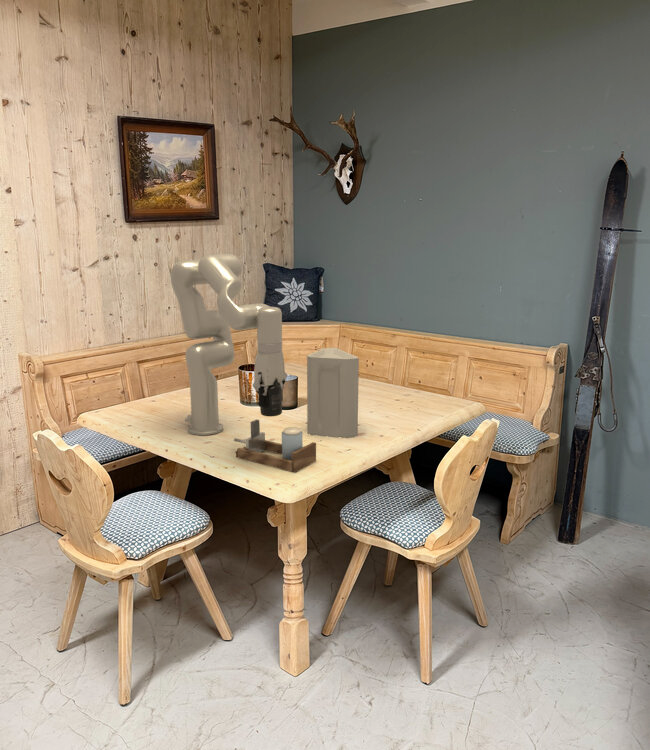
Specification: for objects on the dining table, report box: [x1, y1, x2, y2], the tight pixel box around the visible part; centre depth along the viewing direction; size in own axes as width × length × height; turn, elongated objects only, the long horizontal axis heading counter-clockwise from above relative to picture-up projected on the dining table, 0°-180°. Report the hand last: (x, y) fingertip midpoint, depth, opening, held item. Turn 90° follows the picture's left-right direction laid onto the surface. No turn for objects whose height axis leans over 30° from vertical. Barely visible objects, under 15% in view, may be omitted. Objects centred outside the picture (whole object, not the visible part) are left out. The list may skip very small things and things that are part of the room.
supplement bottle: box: [259, 378, 283, 418], centre depth 206 cm, size 7×7×12 cm
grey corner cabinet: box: [306, 347, 360, 439], centre depth 233 cm, size 19×15×28 cm
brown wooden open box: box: [235, 439, 317, 473], centre depth 209 cm, size 23×11×6 cm, turn 57°
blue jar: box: [281, 426, 304, 461], centre depth 205 cm, size 6×6×11 cm
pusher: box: [233, 419, 266, 453], centre depth 215 cm, size 9×8×11 cm
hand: (270, 403), depth 207 cm, fingers closed on supplement bottle, 6 cm apart
